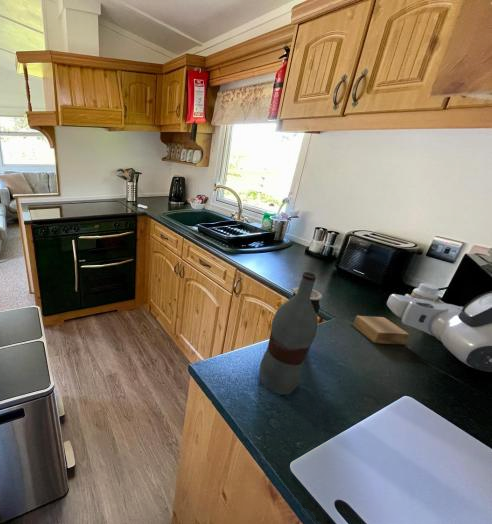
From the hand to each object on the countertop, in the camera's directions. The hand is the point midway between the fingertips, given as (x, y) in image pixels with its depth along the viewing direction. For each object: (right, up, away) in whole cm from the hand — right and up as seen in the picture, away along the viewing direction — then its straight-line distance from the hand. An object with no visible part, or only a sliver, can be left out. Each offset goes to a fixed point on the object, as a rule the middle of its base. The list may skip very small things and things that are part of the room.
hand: (421, 299), depth 86 cm
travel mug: (-38, -14, +3) cm, 40 cm away
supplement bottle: (-1, -5, +2) cm, 6 cm away
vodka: (-49, -20, -13) cm, 54 cm away
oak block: (-4, -13, +12) cm, 18 cm away
